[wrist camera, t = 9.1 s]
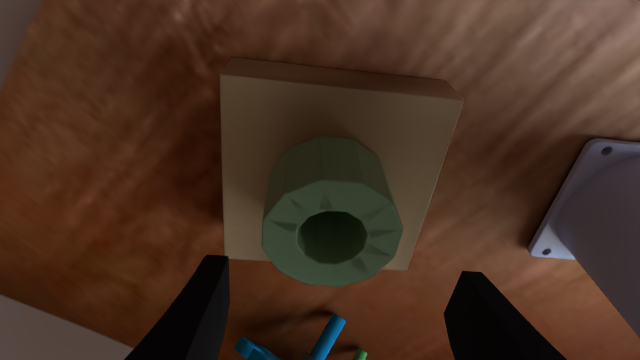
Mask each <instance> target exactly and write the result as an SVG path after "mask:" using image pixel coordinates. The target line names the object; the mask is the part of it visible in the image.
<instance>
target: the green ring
mask: <svg viewBox="0 0 640 360" xmlns="http://www.w3.org/2000/svg"><path fill="white" fill-rule="evenodd" d="M324 211H335V212H332V213H328V212H324ZM402 233H403V225H402V222H401V219H400V216H399V213H398V209H397V206H396V203H395V200H394V197H393V194H392V190H391V187H390V184H389V181H388V178H387V176H386V173H385V171H384V168H383V166H382V163H381V161H380V158H379V157H378V156H377V155H376V154H374V153H373V152H371V151H370V150H368V149H367V148H365V147H364V146H362V145H361V144H360V143H358V142H357V141H355V140H353V139H348V138H337V137H327V136H320V137H319V136H318V137H315V138H313V139H310V140H308V141H305V142H303V143H300V144H298V145H295V146H293V147H290V148H289V149H287V151H286V152H285V153H284V155H283V156H282V157H281V158H280V160H279V161H278V162H277V163H276V165H275V166H274V167H273V169H272V170H271V172H270V177H269V183H268V189H267V195H266V201H265V207H264V214H263V221H262V243H261V246H262V248H263V250H264V251H265V253H266V254H267V255H268V257H269V258H270V260H271V261H272V263H273V264H274V265H275V267H276V268H277V270H279V271H280V272H282V273H284V274H286V275H288V276H290V277H292V278H294V279H296V280H298V281H300V282H302V283H304V284H308V285H320V286H336V287H339V286H340V287H342V286H345V285H349V284H352V283H355V282H358V281H361V280H365V279H368V278H371V277H373V276H374V275H375V274H376V273H377V272H379V271H380V270H381V269H382V268H383V267H384V266H385V265H387V264H388V263H389V262H390V261H391V260H392V259H393V258H395V256H396V253H397V250H398V246H399V243H400V240H401V237H402Z"/></svg>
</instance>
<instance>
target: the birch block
mask: <svg viewBox="0 0 640 360" xmlns="http://www.w3.org/2000/svg"><path fill="white" fill-rule="evenodd" d="M463 104H464V100H463V99H462V97H461V96H460V95H459V94H458V93H457V92H456V91H455V90H454V89H453V88H452V86H451V85H450V84H449V83H448V82H447V81H443V80H433V79H424V78H415V77H406V76H397V75H388V74H379V73H370V72H361V71H352V70H343V69H334V68H325V67H316V66H307V65H298V64H289V63H280V62H271V61H262V60H253V59H244V58H235V57H231V58H230V59H229V61H228V62H227V64H226V66H225V67H224V69H223V70H222V72H221V74H220V111H221V151H222V190H223V229H224V256H228V258H229V259H241V260H256V261H271V260H270V258H269V257H268V255H267V254H266V253H265V251H264V250H263V248H262V246H261V243H262V221H263V214H264V207H265V201H266V195H267V189H268V183H269V177H270V172H271V170H272V169H273V167H274V166H275V165H276V163H277V162H278V161H279V160H280V158H281V157H282V156H283V155H284V153H285V152H286V151H287V149H289V148H290V147H293V146H295V145H298V144H300V143H303V142H305V141H308V140H310V139H313V138H315V137H318V136H319V137H320V136H327V137H337V138H348V139H353V140H355V141H357V142H358V143H360V144H361V145H362V146H364V147H365V148H367V149H368V150H370V151H371V152H373V153H374V154H376V155H377V156H378V157H379V158H380V161H381V163H382V166H383V168H384V171H385V173H386V176H387V178H388V181H389V184H390V187H391V190H392V194H393V197H394V200H395V203H396V206H397V209H398V213H399V216H400V219H401V222H402V225H403V233H402V237H401V240H400V243H399V246H398V250H397V253H396V256H395V258H393V259H392V260H391V261H390V262H389V263H388V264H387V265H385V266H384V267H383V268H382V269H390V270H404V271H406V270H407V268H408V265H409V262H410V260H411V257H412V254H413V251H414V248H415V245H416V242H417V239H418V236H419V233H420V230H421V227H422V224H423V221H424V218H425V215H426V212H427V209H428V207H429V204H430V201H431V198H432V195H433V192H434V189H435V186H436V183H437V180H438V177H439V174H440V171H441V168H442V165H443V162H444V159H445V156H446V154H447V151H448V148H449V145H450V142H451V139H452V136H453V133H454V130H455V127H456V124H457V121H458V118H459V115H460V112H461V109H462V106H463ZM324 212H328V213H332V212H335V211H324ZM271 262H272V261H271Z"/></svg>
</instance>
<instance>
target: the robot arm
mask: <svg viewBox="0 0 640 360" xmlns="http://www.w3.org/2000/svg"><path fill="white" fill-rule="evenodd" d="M606 147H607V148H606ZM604 148H606V149H605V150H604V151H602V150H603V149H604ZM528 252H529V253H530V255H532V256H534V257H547V258H560V259H574V260H577V261H578V262H579V264H580V265H581V266H582V267H583V269H584V270H585V271H586V272H587V274H588V275H589V276H590V277H591V279H592V280H593V281H594V282H595V283H596V285H597V286H598V287H599V288H600V290H601V291H602V292H603V293H604V295H605V296H606V297H607V298H608V299H609V301H610V302H611V303H612V304H613V306H614V307H615V308H616V309H617V311H618V312H619V313H620V314H621V316H622V317H623V318H624V319H625V320H626V322H627V323H628V324H629V325H630V327H631V328H632V329H633V330H634V332H635V333H636V334H637V335H638V337H639V338H640V143H639V142H629V141H619V140H610V139H600V138H596V139H592V140H590V141H589V142H587V143H586V145H585V146H584V147H583V149H582V151H581V153H580V155H579V156H578V158H577V160H576V162H575V164H574V165H573V167H572V169H571V171H570V173H569V174H568V176H567V178H566V180H565V182H564V183H563V185H562V187H561V189H560V191H559V192H558V194H557V196H556V198H555V200H554V201H553V203H552V205H551V207H550V209H549V210H548V212H547V214H546V216H545V218H544V219H543V221H542V223H541V225H540V227H539V228H538V230H537V232H536V234H535V236H534V237H533V239H532V241H531V243H530V244H529V246H528ZM229 303H230V294H229V258H228V256H220V255H207V256H205V257H204V258H203V260H202V261H201V263H200V265H199V266H198V268H197V269H196V271H195V273H194V274H193V276H192V277H191V278H190V280H189V281H188V283H187V284H186V286H185V287H184V288H183V290H182V291H181V293H180V294H179V295H178V296H177V298H176V299H175V300H174V302H173V303H172V304H171V306H170V307H169V308H168V310H167V311H166V312H165V313H164V315H163V316H162V317H161V318H160V320H159V321H158V322H157V323H156V324H155V325H154V327H153V328H152V329H151V330H150V331H149V332H148V334H147V335H146V336H145V337H144V338H143V339H142V341H141V342H140V343H139V344H138V345H137V346H136V347H135V348H134V349H133V351H132V352H131V353H130V354H129V355H128V356H127V357H126V358H125V359H124V360H217V359H218V355H219V351H220V348H221V344H222V341H223V337H224V332H225V327H226V321H227V315H228V309H229ZM444 318H445V323H446V328H447V333H448V337H449V341H450V346H451V349H452V352H453V355H454V358H455V360H567V359H566V358H565V357H564V356H563V355H562V354H561V353H559V352H558V351H557V350H556V349H555V348H554V347H553V346H552V345H551V344H550V343H549V342H548V341H547V340H546V339H545V338H544V337H543V336H542V335H541V334H540V333H539V332H538V331H537V330H536V329H535V328H534V327H533V326H532V325H531V324H530V323H529V322H528V321H527V320H526V319H525V318H524V317H523V316H522V315H521V313H520V312H519V311H518V310H517V309H516V308H515V307H514V306H513V305H512V304H511V303H510V302H509V301H508V300H507V299H506V298H505V296H504V295H503V294H502V293H501V292H500V291H499V290H498V289H497V288H496V287H495V286H494V285H493V284H492V283H491V282H490V281H489V279H488V278H487V277H486V276H485V275H484V274H483V273H482V272H471V271H462V273H461V275H460V278H459V280H458V282H457V284H456V287H455V289H454V291H453V293H452V296H451V298H450V300H449V303H448V305H447V307H446V309H445V312H444Z"/></svg>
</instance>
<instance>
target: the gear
mask: <svg viewBox="0 0 640 360" xmlns="http://www.w3.org/2000/svg"><path fill="white" fill-rule="evenodd" d="M345 322H346V321H345V320H344V319H342V318H341V317H339V316H338V315H336V314H334V313H333V315H332V317H331V318H330V320H329V322H328V324H327V325H326V327H325V329H324V331H323V332H322V334H321V336H320V337H319V339H318V341H317V343H316V344H315V346H314V348H313V349H312V351H311V353H310V355H309V354H307V353H306V352H305V354H304V356H303V357H302V359H301V360H325V358H326V356H327V354H328V353H329V351H330V349H331V347H332V346H333V344H334V342H335V340H336V338H337V337H338V335H339V333H340V331H341V330H342V328H343V326H344V324H345ZM234 349H235V350H236V351H237V352H238V353H239V354H240V355H242V356H243V357H245V358H246V359H247V360H283V359H281V358H280V359H279V358H278V357H276V356H275V355H274V354H273V353H271V352H270V351H269V350H267V349H266V348H265V347H263V346H261V345H259V344H258V345H257V344H256V343H255V342H253V341H252V340H250V339H249V338H247V337H245V338H244V337H242V336H241V337H240V339H239V341H238V342H237V344H236V345H235V347H234ZM366 356H367V353H366V352H365V351H363V350H361V349H360V348H359V349H358V351H357V353H356V355H355V357H354V358H353V360H364V359H365V358H366Z"/></svg>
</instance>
